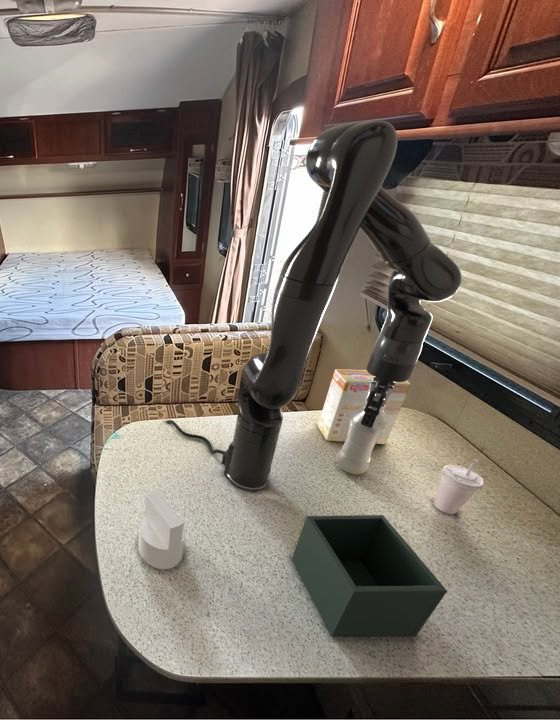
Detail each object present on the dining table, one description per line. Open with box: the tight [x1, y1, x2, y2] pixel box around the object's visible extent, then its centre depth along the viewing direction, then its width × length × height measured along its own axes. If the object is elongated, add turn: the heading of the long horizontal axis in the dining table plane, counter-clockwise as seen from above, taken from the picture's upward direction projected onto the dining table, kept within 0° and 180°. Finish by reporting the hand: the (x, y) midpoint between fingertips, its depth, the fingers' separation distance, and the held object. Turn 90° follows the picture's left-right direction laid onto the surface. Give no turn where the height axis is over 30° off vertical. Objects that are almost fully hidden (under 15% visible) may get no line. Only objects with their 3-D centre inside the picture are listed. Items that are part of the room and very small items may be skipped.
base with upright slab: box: [138, 489, 186, 570], centre depth 74 cm, size 9×9×12 cm
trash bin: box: [291, 514, 448, 638], centre depth 64 cm, size 14×14×13 cm
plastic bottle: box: [336, 400, 385, 475], centre depth 89 cm, size 6×7×20 cm
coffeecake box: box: [317, 368, 412, 445], centre depth 100 cm, size 15×7×20 cm, turn 80°
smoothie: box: [433, 458, 485, 515], centre depth 79 cm, size 6×6×14 cm
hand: (369, 418), depth 87 cm, fingers closed on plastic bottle, 6 cm apart
